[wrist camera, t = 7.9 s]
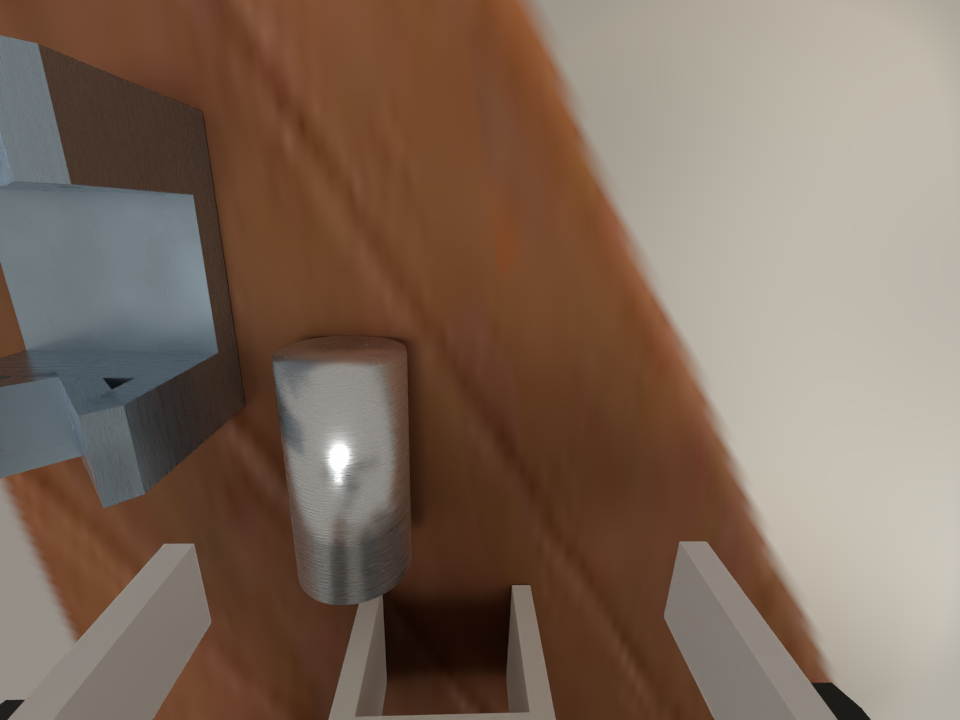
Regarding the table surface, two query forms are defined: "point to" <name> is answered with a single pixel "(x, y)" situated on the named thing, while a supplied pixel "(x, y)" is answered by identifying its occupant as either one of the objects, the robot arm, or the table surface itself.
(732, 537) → the table surface
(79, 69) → the v block
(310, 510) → the axle
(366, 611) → the u shaped block
